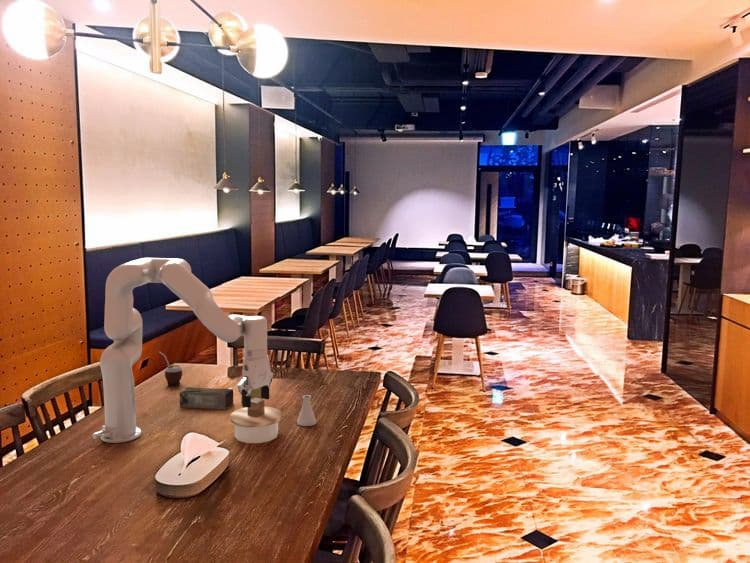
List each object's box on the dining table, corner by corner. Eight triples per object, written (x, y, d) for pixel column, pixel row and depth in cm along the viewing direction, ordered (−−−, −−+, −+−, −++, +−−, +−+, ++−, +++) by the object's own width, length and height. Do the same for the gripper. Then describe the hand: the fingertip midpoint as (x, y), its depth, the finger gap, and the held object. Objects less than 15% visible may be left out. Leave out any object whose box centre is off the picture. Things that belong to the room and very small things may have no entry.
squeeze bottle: (265, 407, 238) (265, 362, 235) (259, 414, 230) (259, 367, 227) (245, 406, 238) (244, 361, 236) (238, 413, 230) (237, 366, 228)
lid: (259, 431, 198) (259, 412, 197) (219, 421, 206) (219, 403, 205) (291, 415, 213) (291, 397, 212) (252, 406, 221) (252, 389, 220)
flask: (313, 427, 218) (313, 400, 217) (293, 425, 219) (293, 398, 218) (319, 420, 225) (319, 394, 224) (300, 418, 226) (300, 392, 225)
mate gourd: (186, 384, 265) (185, 350, 263) (171, 389, 258) (170, 354, 256) (174, 381, 269) (173, 347, 267) (159, 386, 262) (158, 351, 260)
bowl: (259, 446, 201) (259, 428, 200) (226, 437, 208) (226, 420, 207) (285, 432, 213) (285, 415, 212) (253, 424, 220) (253, 408, 219)
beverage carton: (187, 400, 245) (187, 384, 244) (234, 403, 242) (234, 387, 241) (178, 407, 237) (178, 390, 236) (227, 410, 234) (227, 393, 233)
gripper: (247, 360, 197) (247, 412, 199) (280, 349, 212) (280, 397, 214) (229, 357, 201) (230, 408, 203) (263, 346, 216) (263, 394, 218)
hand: (256, 402), depth 209 cm, fingers open, 9 cm apart
